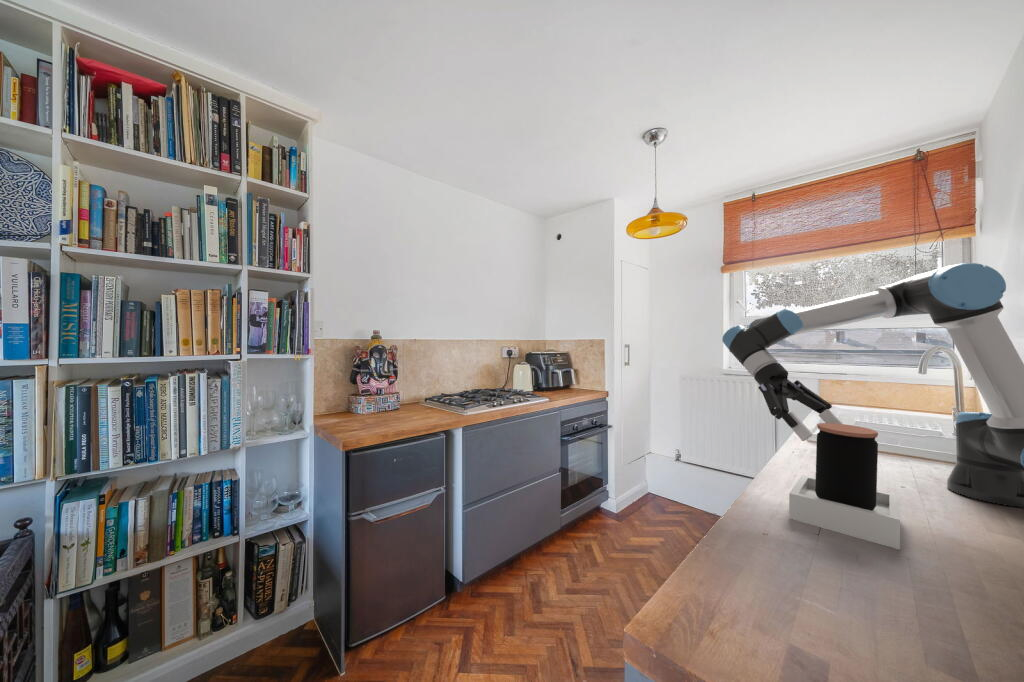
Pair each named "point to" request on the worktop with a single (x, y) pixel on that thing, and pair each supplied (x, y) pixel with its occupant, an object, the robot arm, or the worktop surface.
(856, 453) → the coffee jar
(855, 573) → the worktop surface
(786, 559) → the worktop surface
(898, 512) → the white square tray
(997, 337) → the robot arm
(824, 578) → the worktop surface
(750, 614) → the worktop surface
